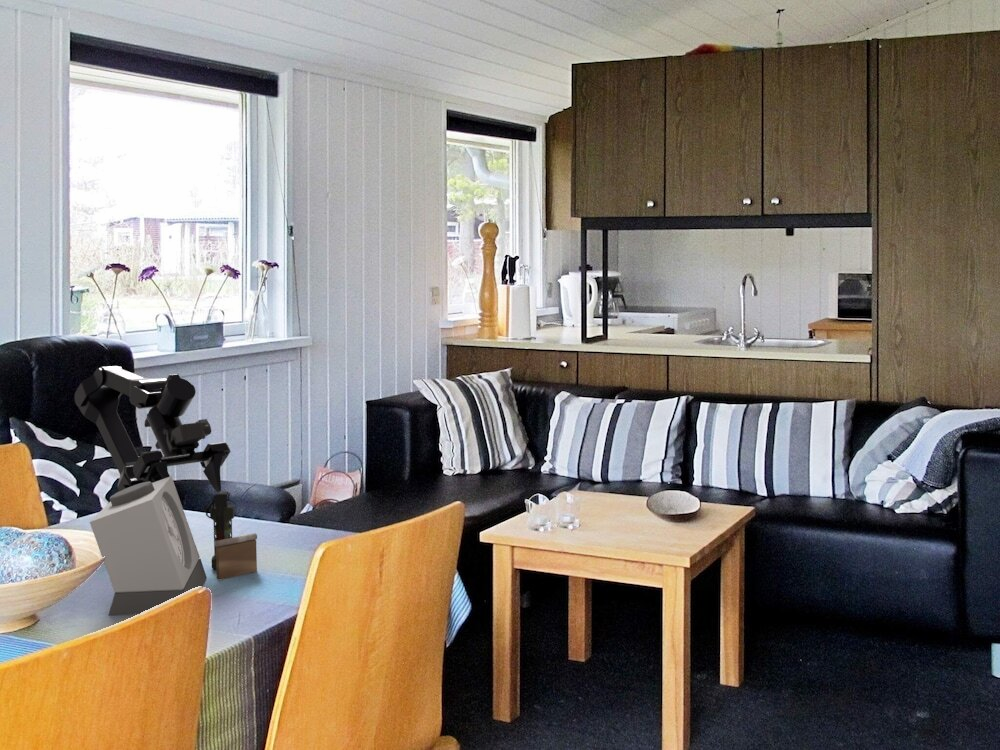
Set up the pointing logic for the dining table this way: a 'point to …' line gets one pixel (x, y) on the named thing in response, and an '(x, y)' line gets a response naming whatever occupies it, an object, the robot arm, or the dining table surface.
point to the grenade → (220, 518)
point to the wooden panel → (236, 556)
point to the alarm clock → (147, 547)
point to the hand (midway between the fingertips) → (198, 495)
